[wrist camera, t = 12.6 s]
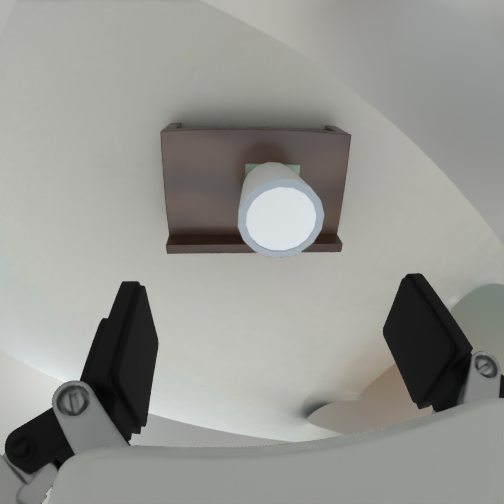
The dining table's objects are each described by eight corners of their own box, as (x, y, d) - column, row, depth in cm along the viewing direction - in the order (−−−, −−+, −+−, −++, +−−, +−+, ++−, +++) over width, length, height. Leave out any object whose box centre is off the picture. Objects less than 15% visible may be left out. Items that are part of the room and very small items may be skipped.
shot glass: (257, 232, 32) (264, 271, 27) (222, 178, 29) (220, 207, 23) (317, 201, 31) (337, 234, 25) (286, 142, 28) (301, 162, 22)
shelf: (170, 123, 31) (155, 135, 25) (335, 126, 32) (359, 139, 26) (176, 222, 37) (166, 253, 31) (324, 222, 38) (341, 252, 32)
